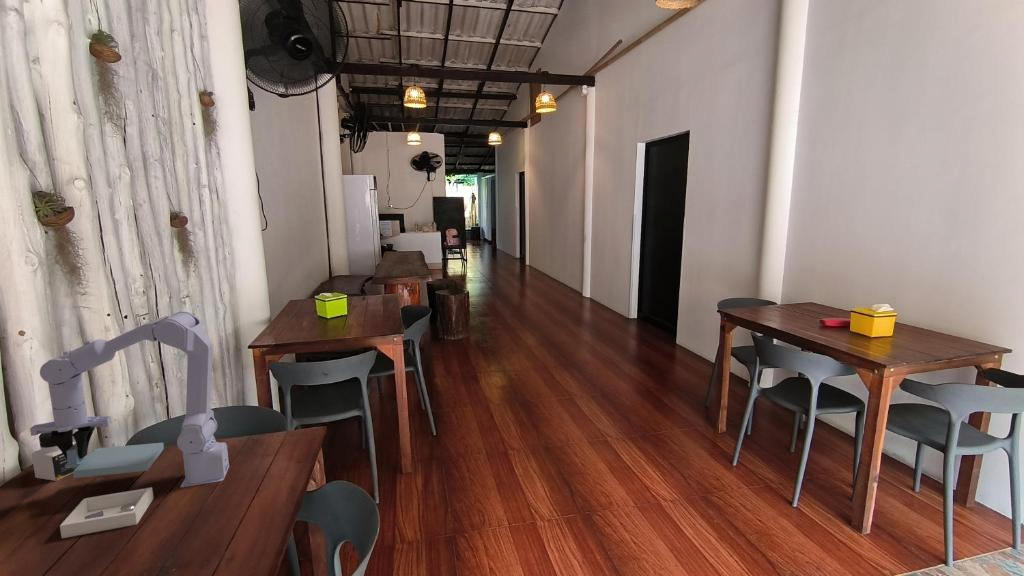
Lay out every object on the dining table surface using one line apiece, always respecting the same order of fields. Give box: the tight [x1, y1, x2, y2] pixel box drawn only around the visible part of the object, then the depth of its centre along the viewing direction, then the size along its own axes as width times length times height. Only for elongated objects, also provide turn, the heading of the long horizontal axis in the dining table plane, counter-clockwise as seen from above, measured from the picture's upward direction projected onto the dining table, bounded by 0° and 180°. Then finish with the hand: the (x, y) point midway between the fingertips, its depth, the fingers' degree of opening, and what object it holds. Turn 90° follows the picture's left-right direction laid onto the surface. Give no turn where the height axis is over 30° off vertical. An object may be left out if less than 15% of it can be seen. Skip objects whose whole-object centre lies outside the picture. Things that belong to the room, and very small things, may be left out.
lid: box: [65, 442, 165, 479], centre depth 114 cm, size 17×11×5 cm, turn 111°
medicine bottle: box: [31, 432, 77, 482], centre depth 121 cm, size 7×7×12 cm
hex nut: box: [120, 503, 136, 513], centre depth 105 cm, size 3×3×1 cm
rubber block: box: [85, 511, 104, 519], centre depth 102 cm, size 3×2×2 cm, turn 131°
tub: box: [59, 487, 154, 539], centre depth 103 cm, size 13×10×4 cm
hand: (76, 457), depth 111 cm, fingers closed on lid
